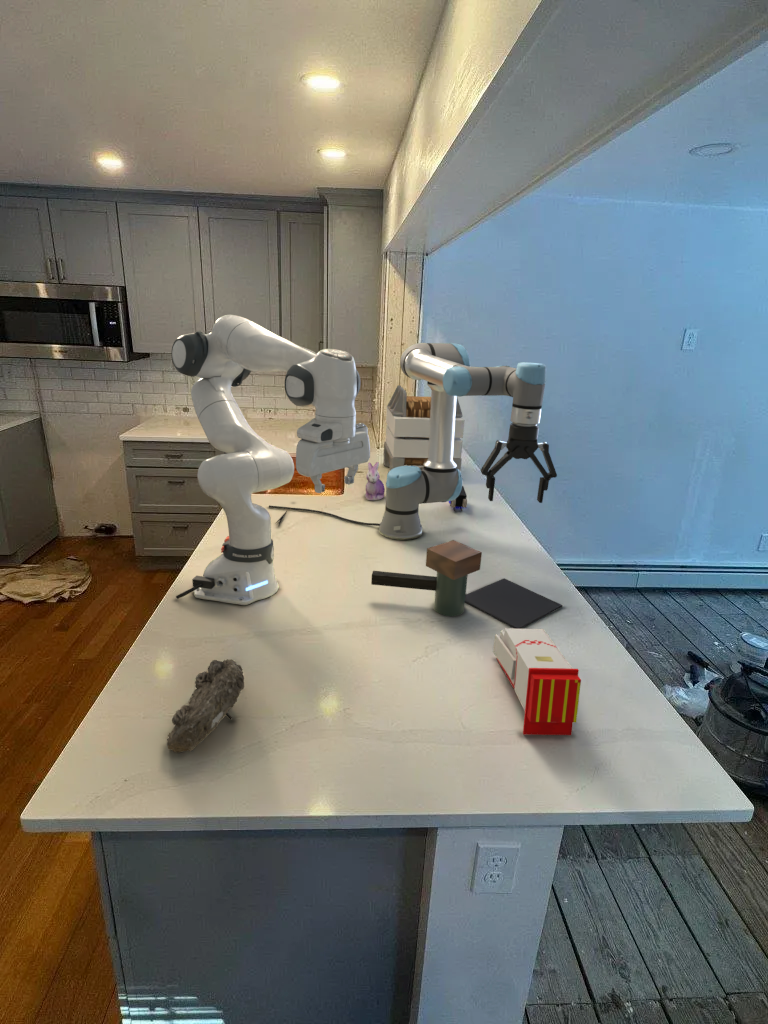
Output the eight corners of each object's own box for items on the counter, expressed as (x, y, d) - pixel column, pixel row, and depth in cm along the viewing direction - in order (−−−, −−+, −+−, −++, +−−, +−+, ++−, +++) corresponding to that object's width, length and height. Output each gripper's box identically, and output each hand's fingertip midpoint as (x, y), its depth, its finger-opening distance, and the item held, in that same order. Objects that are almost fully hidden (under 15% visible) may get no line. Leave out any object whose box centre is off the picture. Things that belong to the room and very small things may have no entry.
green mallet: (464, 602, 155) (468, 562, 151) (464, 617, 147) (468, 576, 143) (373, 593, 157) (375, 554, 153) (369, 608, 150) (370, 566, 146)
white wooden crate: (382, 463, 289) (386, 382, 275) (445, 464, 293) (451, 384, 279) (390, 482, 257) (394, 392, 243) (460, 483, 261) (468, 394, 247)
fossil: (192, 660, 117) (244, 628, 112) (224, 691, 120) (276, 661, 115) (142, 746, 98) (202, 712, 93) (182, 779, 101) (242, 748, 96)
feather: (294, 505, 227) (296, 501, 226) (277, 528, 200) (280, 524, 199) (290, 503, 226) (292, 499, 226) (273, 526, 200) (276, 521, 199)
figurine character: (467, 516, 223) (461, 500, 237) (469, 499, 220) (463, 483, 233) (450, 516, 223) (446, 499, 236) (452, 498, 220) (447, 483, 233)
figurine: (369, 502, 230) (370, 466, 225) (359, 494, 239) (360, 460, 234) (390, 499, 234) (391, 464, 229) (378, 492, 243) (380, 458, 238)
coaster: (458, 599, 156) (458, 597, 156) (503, 580, 169) (504, 578, 169) (517, 630, 142) (518, 628, 142) (562, 607, 155) (562, 605, 155)
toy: (540, 612, 132) (590, 675, 102) (535, 665, 134) (582, 742, 105) (489, 611, 131) (523, 674, 102) (484, 665, 134) (517, 741, 105)
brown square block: (425, 566, 148) (426, 548, 146) (451, 556, 154) (453, 539, 152) (453, 580, 141) (455, 561, 139) (480, 569, 147) (482, 552, 145)
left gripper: (357, 419, 133) (355, 476, 138) (290, 430, 118) (291, 494, 123) (377, 423, 129) (375, 481, 134) (311, 435, 114) (311, 500, 119)
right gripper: (479, 424, 145) (471, 503, 152) (576, 428, 145) (564, 506, 153) (475, 419, 152) (467, 494, 159) (567, 422, 152) (555, 497, 160)
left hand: (334, 487), depth 128 cm, fingers open, 8 cm apart
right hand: (514, 500), depth 156 cm, fingers open, 13 cm apart
